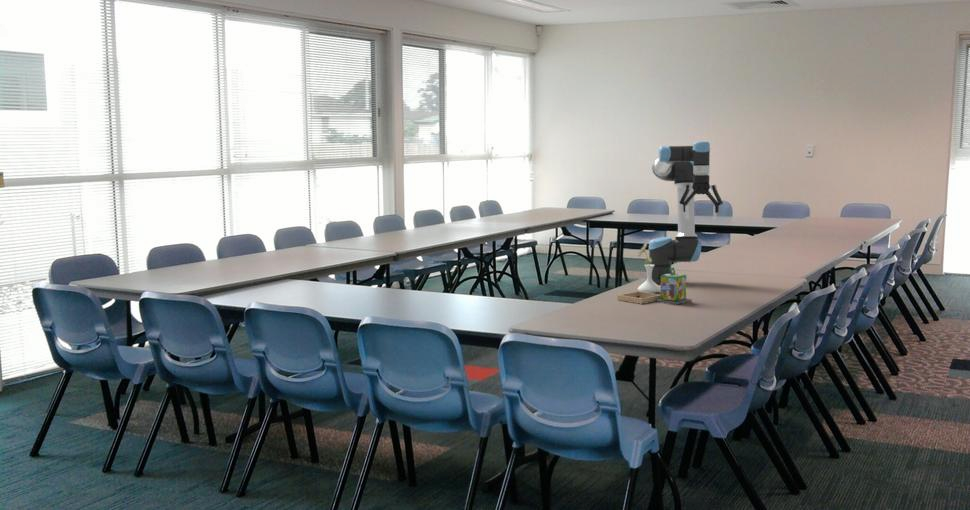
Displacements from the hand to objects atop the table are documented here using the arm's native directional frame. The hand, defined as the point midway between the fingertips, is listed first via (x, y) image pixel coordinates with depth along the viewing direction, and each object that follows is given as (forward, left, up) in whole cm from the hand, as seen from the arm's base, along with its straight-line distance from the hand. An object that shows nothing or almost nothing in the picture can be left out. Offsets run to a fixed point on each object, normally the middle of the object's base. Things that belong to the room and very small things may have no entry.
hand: (700, 219), depth 437 cm
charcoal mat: (+2, -22, -37) cm, 43 cm away
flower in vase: (-22, -12, -37) cm, 45 cm away
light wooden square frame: (-12, -30, -37) cm, 49 cm away
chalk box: (+2, -22, -36) cm, 42 cm away
